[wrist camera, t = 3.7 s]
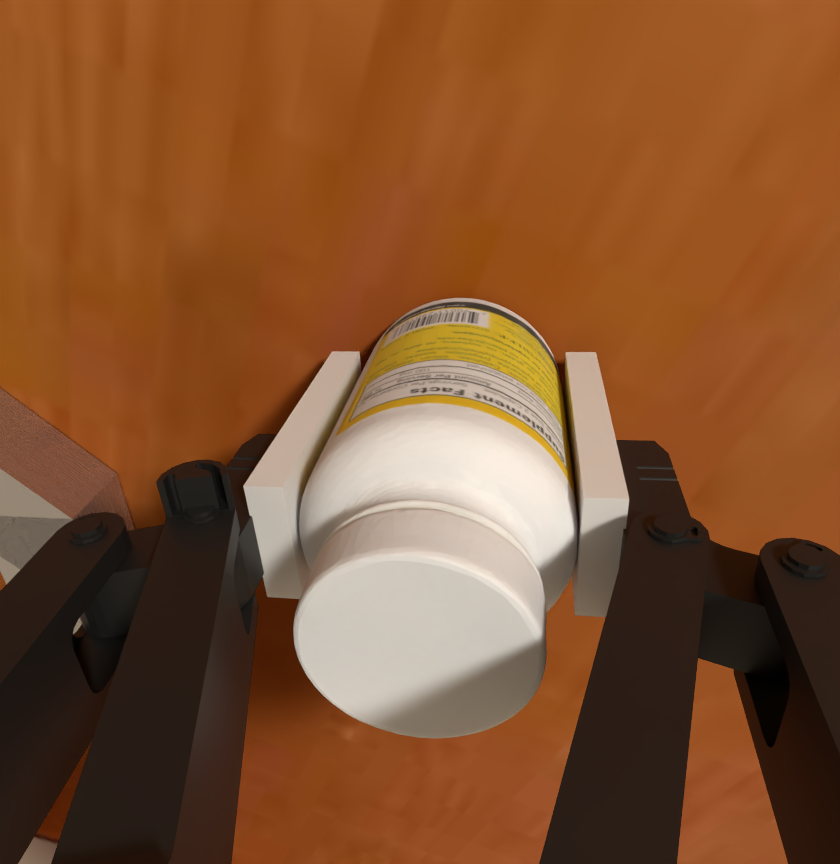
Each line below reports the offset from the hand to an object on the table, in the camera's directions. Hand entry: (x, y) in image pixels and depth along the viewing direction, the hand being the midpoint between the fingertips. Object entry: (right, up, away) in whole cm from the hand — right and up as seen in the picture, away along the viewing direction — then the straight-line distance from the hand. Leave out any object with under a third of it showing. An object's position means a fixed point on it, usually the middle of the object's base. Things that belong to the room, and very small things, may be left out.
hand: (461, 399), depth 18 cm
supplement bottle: (0, 0, +1) cm, 1 cm away
